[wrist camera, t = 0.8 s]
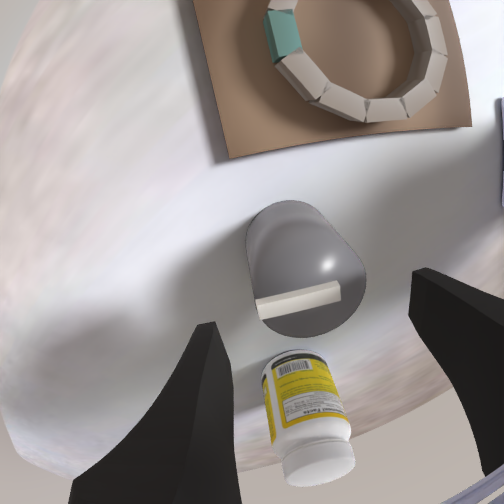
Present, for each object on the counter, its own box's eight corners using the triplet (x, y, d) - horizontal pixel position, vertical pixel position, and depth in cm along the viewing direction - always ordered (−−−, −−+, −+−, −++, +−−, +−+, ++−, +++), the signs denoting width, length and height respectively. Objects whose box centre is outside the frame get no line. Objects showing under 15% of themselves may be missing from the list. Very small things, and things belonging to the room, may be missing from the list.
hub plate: (431, -25, 9) (454, -35, 7) (463, 125, 14) (490, 130, 12) (186, -27, 10) (181, -48, 7) (229, 156, 14) (230, 164, 12)
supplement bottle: (297, 397, 22) (320, 490, 14) (247, 380, 21) (259, 486, 13) (339, 359, 21) (378, 457, 13) (289, 337, 19) (320, 452, 12)
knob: (324, 192, 15) (368, 232, 10) (332, 268, 17) (369, 327, 12) (237, 211, 15) (243, 261, 10) (255, 286, 17) (267, 354, 12)
